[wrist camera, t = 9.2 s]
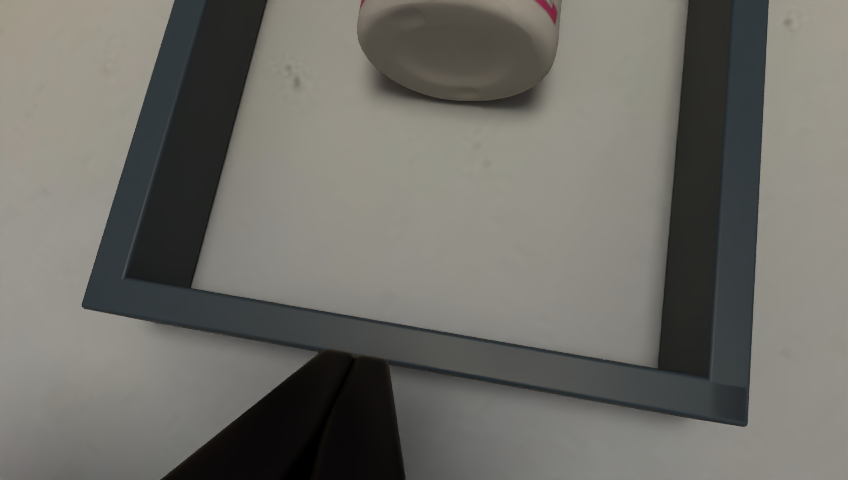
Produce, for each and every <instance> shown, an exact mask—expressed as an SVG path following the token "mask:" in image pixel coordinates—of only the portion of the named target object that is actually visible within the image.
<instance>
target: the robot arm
mask: <svg viewBox="0 0 848 480" xmlns="http://www.w3.org/2000/svg"><path fill="white" fill-rule="evenodd" d="M161 480H406V479H405V472H404V465H403V458H402V451H401V445H400V438H399V431H398V424H397V417H396V410H395V404H394V397H393V390H392V383H391V376H390V369H389V364H388V361H387V360H386V359H384V358H379V357H373V356H368V355H359V356H357V357H356V356H355V355H354V354H353V353H351V352H345V351H340V350H334V349H325V350H323V351H321V352H320V353H319V354H317V355H316V356H315V357H314V358H312V359H311V360H310V361H309V362H307V363H306V364H305V365H304V366H302V367H301V368H300V369H299V370H297V371H296V372H295V373H294V374H292V375H291V376H290V377H289V378H287V379H286V380H285V381H284V382H282V383H281V384H280V385H279V386H277V387H276V388H275V389H274V390H272V391H271V392H270V393H269V394H267V395H266V396H265V397H264V398H262V399H261V400H260V401H258V402H257V403H256V404H255V405H253V406H252V407H251V408H250V409H248V410H247V411H246V412H245V413H243V414H242V415H241V416H240V417H238V418H237V419H236V420H235V421H233V422H232V423H231V424H230V425H228V426H227V427H226V428H225V429H223V430H222V431H221V432H220V433H218V434H217V435H216V436H215V437H213V438H212V439H211V440H210V441H208V442H207V443H206V444H205V445H203V446H202V447H201V448H200V449H198V450H197V451H196V452H195V453H193V454H192V455H191V456H190V457H188V458H187V459H186V460H185V461H183V462H182V463H181V464H180V465H178V466H177V467H176V468H175V469H173V470H172V471H171V472H170V473H168V474H167V475H166V476H165V477H163V478H162V479H161Z"/></svg>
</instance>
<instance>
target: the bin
mask: <svg viewBox="0 0 848 480" xmlns="http://www.w3.org/2000/svg"><path fill="white" fill-rule="evenodd" d="M265 2H266V0H175V1H174V4H173V8H172V11H171V14H170V18H169V21H168V24H167V27H166V31H165V34H164V37H163V40H162V44H161V47H160V50H159V53H158V57H157V60H156V63H155V67H154V70H153V73H152V76H151V80H150V83H149V86H148V89H147V93H146V96H145V99H144V103H143V106H142V109H141V112H140V116H139V119H138V122H137V125H136V129H135V132H134V135H133V139H132V142H131V145H130V148H129V152H128V155H127V158H126V161H125V165H124V168H123V171H122V174H121V178H120V181H119V184H118V188H117V191H116V194H115V197H114V201H113V204H112V207H111V210H110V214H109V217H108V220H107V224H106V227H105V230H104V233H103V237H102V240H101V243H100V246H99V250H98V253H97V256H96V259H95V263H94V266H93V269H92V273H91V276H90V279H89V282H88V286H87V289H86V292H85V295H84V299H83V302H82V307H83V308H84V309H89V310H94V311H99V312H104V313H109V314H114V315H120V316H125V317H130V318H135V319H140V320H145V321H151V322H156V323H162V324H167V325H173V326H178V327H184V328H190V329H195V330H201V331H206V332H212V333H217V334H223V335H229V336H234V337H240V338H245V339H251V340H256V341H262V342H268V343H273V344H279V345H284V346H290V347H296V348H301V349H307V350H312V351H318V352H321V351H323V350H325V349H334V350H340V351H345V352H351V353H353V354H354V355H355V356H356V357H357V356H359V355H368V356H373V357H379V358H384V359H386V360H387V361H388V364H390V365H396V366H401V367H407V368H413V369H418V370H424V371H429V372H435V373H441V374H446V375H452V376H457V377H463V378H468V379H474V380H480V381H485V382H491V383H496V384H502V385H507V386H513V387H519V388H524V389H530V390H535V391H541V392H547V393H552V394H558V395H563V396H569V397H574V398H580V399H586V400H591V401H597V402H602V403H608V404H613V405H619V406H625V407H630V408H636V409H641V410H647V411H652V412H658V413H664V414H669V415H675V416H680V417H686V418H692V419H698V420H705V421H711V422H717V423H723V424H730V425H736V426H742V427H744V426H747V423H748V403H749V383H750V363H751V343H752V323H753V303H754V283H755V263H756V244H757V224H758V204H759V184H760V164H761V144H762V124H763V104H764V84H765V64H766V44H767V24H768V4H769V0H690V2H689V14H688V26H687V37H686V49H685V61H684V73H683V85H682V97H681V109H680V121H679V133H678V144H677V156H676V168H675V180H674V192H673V204H672V216H671V228H670V239H669V251H668V263H667V275H666V287H665V299H664V311H663V323H662V334H661V346H660V358H659V369H656V368H650V367H644V366H638V365H632V364H627V363H621V362H615V361H609V360H603V359H598V358H592V357H586V356H580V355H574V354H569V353H563V352H557V351H551V350H545V349H540V348H534V347H528V346H522V345H516V344H511V343H505V342H499V341H493V340H487V339H482V338H476V337H470V336H464V335H459V334H453V333H447V332H441V331H435V330H430V329H424V328H418V327H412V326H406V325H401V324H395V323H389V322H383V321H377V320H372V319H366V318H360V317H354V316H348V315H343V314H337V313H331V312H325V311H319V310H314V309H308V308H302V307H296V306H290V305H285V304H279V303H273V302H267V301H261V300H256V299H250V298H244V297H238V296H232V295H227V294H221V293H215V292H209V291H203V290H198V289H192V288H189V287H190V284H191V280H192V276H193V272H194V269H195V265H196V261H197V257H198V254H199V250H200V246H201V242H202V238H203V235H204V231H205V227H206V223H207V220H208V216H209V212H210V208H211V205H212V201H213V197H214V193H215V190H216V186H217V182H218V178H219V175H220V171H221V167H222V163H223V160H224V156H225V152H226V148H227V145H228V141H229V137H230V133H231V130H232V126H233V122H234V118H235V115H236V111H237V107H238V103H239V100H240V96H241V92H242V88H243V85H244V81H245V77H246V73H247V70H248V66H249V62H250V58H251V55H252V51H253V47H254V43H255V40H256V36H257V32H258V28H259V25H260V21H261V17H262V13H263V10H264V6H265Z"/></svg>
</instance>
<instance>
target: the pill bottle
mask: <svg viewBox="0 0 848 480" xmlns="http://www.w3.org/2000/svg"><path fill="white" fill-rule="evenodd" d="M560 9H561V0H362V1H361V6H360V12H359V18H358V26H357V34H358V40H359V43H360V46H361V48H362V50H363V52H364V53H365V55H366V56H367V58H368V59H369V60H370V61H371V63H372V64H373V65H374V66H375V67H376V68H377V69H378V70H380V71H381V72H382V73H383V74H385V75H386V76H387V77H389V78H390V79H392V80H393V81H395V82H397V83H398V84H400V85H402V86H404V87H406V88H408V89H411V90H413V91H416V92H419V93H422V94H425V95H428V96H432V97H436V98H441V99H447V100H454V101H486V100H496V99H501V98H506V97H510V96H514V95H517V94H520V93H522V92H524V91H527V90H528V89H530V88H532V87H533V86H535V85H536V84H537V83H538V82H540V81H541V80H542V79H543V78H544V77H545V75H546V74H547V73H548V71H549V70H550V68H551V66H552V64H553V62H554V59H555V55H556V50H557V44H558V35H559V22H560Z"/></svg>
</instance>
